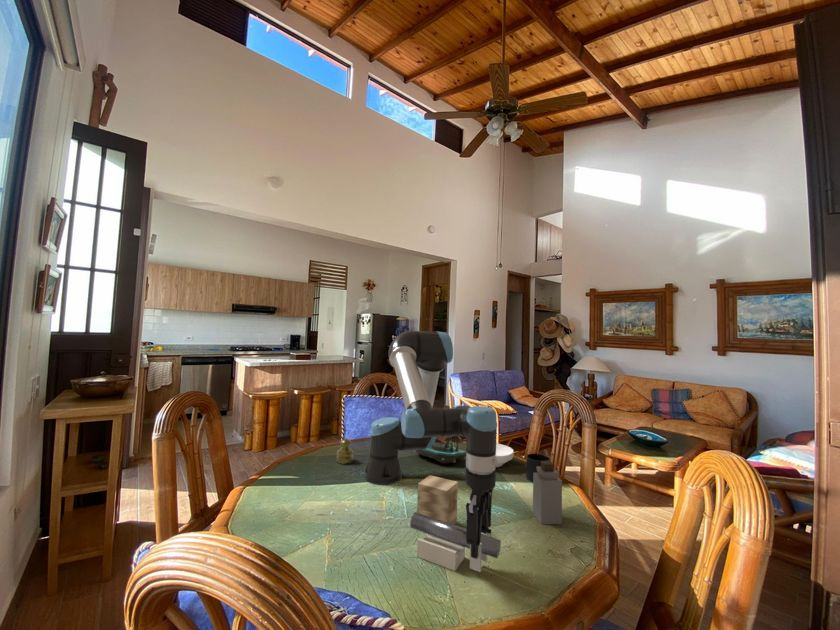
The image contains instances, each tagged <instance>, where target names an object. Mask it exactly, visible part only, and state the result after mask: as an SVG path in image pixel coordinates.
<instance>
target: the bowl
mask: <svg viewBox="0 0 840 630" xmlns="http://www.w3.org/2000/svg"><path fill="white" fill-rule="evenodd" d="M514 453H515V452H514V448H512V447H510V446H509V445H505V444H501V443H496V459H497V460H498V462H497V463H496V468H500V467H503V465H504V464H506V463H508V462H509V461H511V460H512V459H513V458H514Z"/></svg>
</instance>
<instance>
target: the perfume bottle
mask: <svg viewBox="0 0 840 630" xmlns="http://www.w3.org/2000/svg"><path fill="white" fill-rule="evenodd" d="M536 468H537V472H538V473H533V482H532V515H533V516H534V517H535V519H536V520H537V521H538V522H539V523H540V525H562V523H563V522H562V519H563V518H562V517H563V511H562V510H563V480H562V479H561V478H560V477H559V474H560V472H559V471H558V470H557V469H555V463H554V462H552V461H551V460H550V461H541V467H536Z"/></svg>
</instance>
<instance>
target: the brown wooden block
mask: <svg viewBox="0 0 840 630" xmlns="http://www.w3.org/2000/svg"><path fill="white" fill-rule="evenodd" d="M458 485H459V482H458V481H455V480H451V479H446V478H443V477H439V476H434V475H432V474H429V475H428V476H426V477H425V478H424V479H422V480H421V481H419V482H418V483H417V499H416V500H417V501H416V504H417V505H416V506H417V507H416V512H417V513H420V514H423V515H426V516H429V517H432V518H435V519H438V520H441V521H444V522H447V523H450V524H453V525H456V524H457V523H458V522H457V520H458V518H457V516H458V488H459V487H458Z"/></svg>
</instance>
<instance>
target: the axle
mask: <svg viewBox="0 0 840 630" xmlns="http://www.w3.org/2000/svg"><path fill="white" fill-rule="evenodd" d="M409 525H410V529H413V530H417V531H419V532H422V533H424V534H426V535H428V534H430V535H432V536H435V537H438V538H441V539H444V540H447V541H449V542H452V543H455V544H458V545H461V546H463V547H465V549H469V550H470V544H468V543H467V541H466V539H467V528H465V527H462V526H459V525H456V524H455V525H453V524H450V523H447V522H444V521H441V520H438V519H435V518H432V517H429V516H426V515H423V514H420V513H417V511H416V512H414V513H413V514H412V516H411V519H410V524H409ZM480 543H482V553H483V554H486V555H487V556H490V557H491V558H495V559H498V558H499V556H500V553H501V548H502V547H501V545H502V544H501V543H502V542H501V540H500V539H499V538H496V537H492V536H490V535H488V536H487V535H484V534H481V538H480Z"/></svg>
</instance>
